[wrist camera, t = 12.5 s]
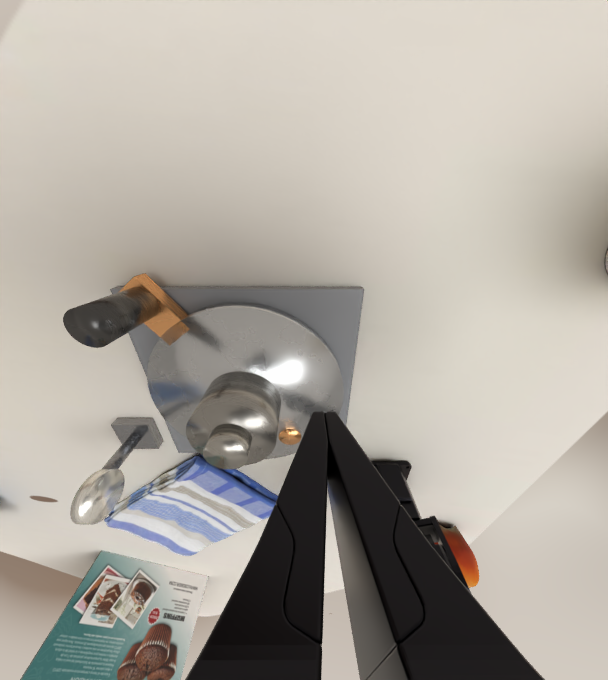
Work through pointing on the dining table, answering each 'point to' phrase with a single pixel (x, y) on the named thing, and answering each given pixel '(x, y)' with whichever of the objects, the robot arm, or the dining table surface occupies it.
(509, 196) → the dining table surface
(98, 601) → the cake mix box
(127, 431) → the stand
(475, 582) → the fruit
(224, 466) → the stepped metal cylinder
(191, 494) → the dish towel
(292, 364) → the turntable
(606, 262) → the coffee cup
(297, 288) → the plinth
